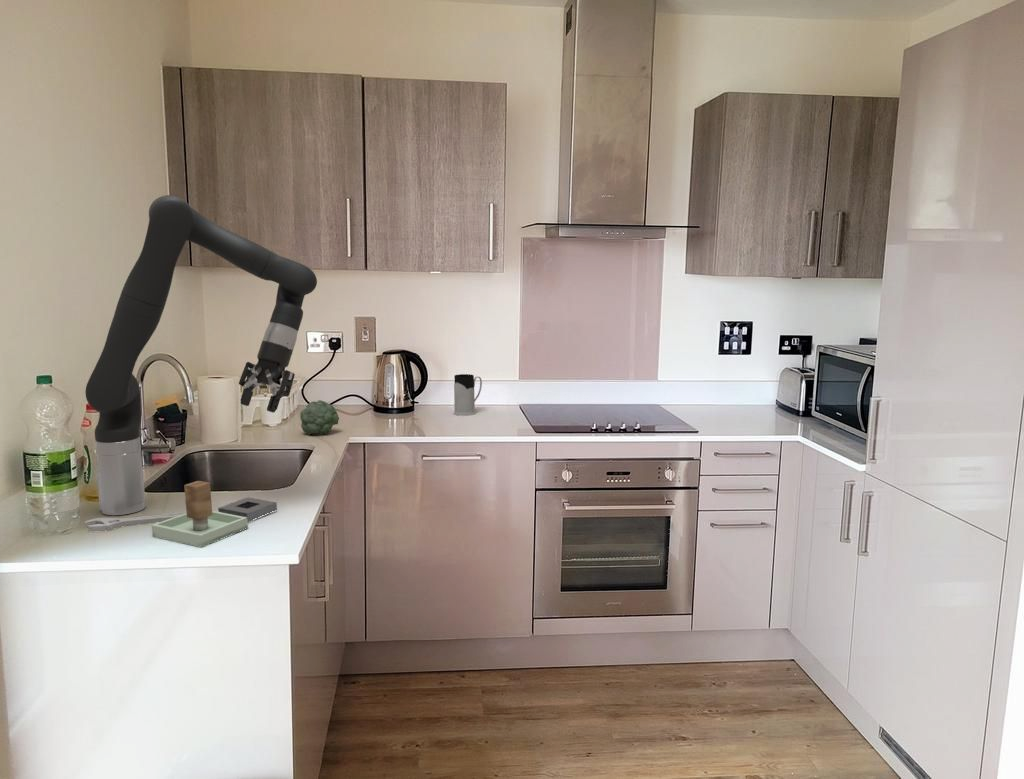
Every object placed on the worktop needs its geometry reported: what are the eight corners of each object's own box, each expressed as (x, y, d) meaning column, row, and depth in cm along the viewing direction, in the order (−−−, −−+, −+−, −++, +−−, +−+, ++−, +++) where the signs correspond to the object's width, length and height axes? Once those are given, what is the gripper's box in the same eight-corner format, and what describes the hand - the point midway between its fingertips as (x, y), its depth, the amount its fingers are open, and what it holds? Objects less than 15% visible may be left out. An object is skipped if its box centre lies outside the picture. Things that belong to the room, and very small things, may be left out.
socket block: (218, 517, 173) (218, 507, 172) (248, 506, 180) (248, 497, 180) (247, 522, 169) (247, 513, 168) (277, 511, 176) (276, 502, 176)
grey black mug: (448, 413, 294) (448, 375, 292) (473, 408, 305) (473, 371, 302) (465, 416, 289) (464, 377, 286) (489, 411, 299) (489, 373, 297)
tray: (152, 536, 160) (151, 525, 160) (200, 518, 171) (199, 508, 171) (201, 547, 154) (200, 535, 153) (248, 528, 165) (247, 517, 164)
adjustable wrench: (209, 516, 175) (208, 509, 175) (205, 525, 169) (205, 517, 169) (89, 525, 168) (88, 517, 168) (81, 535, 162) (80, 527, 162)
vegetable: (349, 422, 268) (340, 411, 253) (324, 449, 265) (313, 439, 251) (324, 401, 270) (314, 389, 256) (299, 427, 267) (287, 417, 253)
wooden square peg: (188, 529, 162) (184, 485, 160) (201, 524, 165) (198, 480, 163) (199, 532, 160) (196, 487, 158) (213, 527, 163) (209, 482, 162)
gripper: (245, 335, 183) (224, 399, 181) (290, 344, 177) (268, 410, 174) (266, 344, 190) (246, 406, 187) (310, 353, 183) (289, 417, 181)
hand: (257, 408), depth 181 cm, fingers open, 8 cm apart
